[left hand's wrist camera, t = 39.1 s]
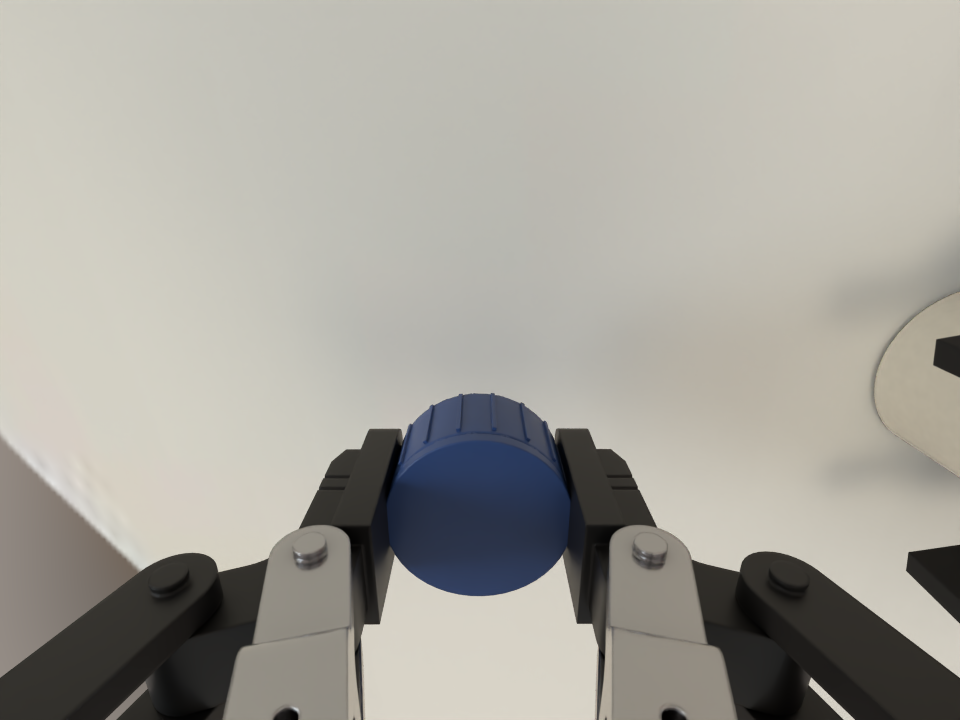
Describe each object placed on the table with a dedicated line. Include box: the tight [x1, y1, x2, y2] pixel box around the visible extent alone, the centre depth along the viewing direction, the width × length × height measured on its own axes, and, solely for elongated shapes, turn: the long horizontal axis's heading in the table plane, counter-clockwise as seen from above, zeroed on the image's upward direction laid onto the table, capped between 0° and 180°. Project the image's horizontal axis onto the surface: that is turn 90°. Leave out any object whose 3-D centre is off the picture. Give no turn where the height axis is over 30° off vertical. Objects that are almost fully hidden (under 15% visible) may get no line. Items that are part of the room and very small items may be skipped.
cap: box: [387, 393, 571, 596], centre depth 11 cm, size 4×4×2 cm
